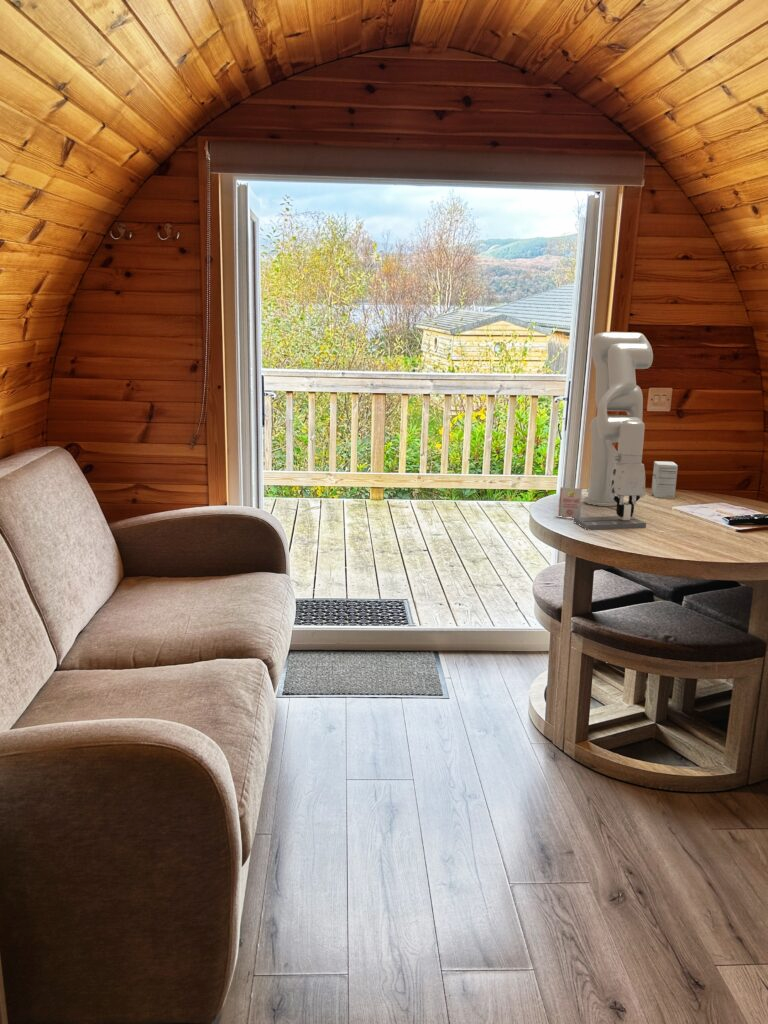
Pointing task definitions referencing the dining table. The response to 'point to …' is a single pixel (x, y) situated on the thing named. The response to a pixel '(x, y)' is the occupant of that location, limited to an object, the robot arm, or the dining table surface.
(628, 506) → the fader knob
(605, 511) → the dining table surface
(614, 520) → the fader board
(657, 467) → the supplement box
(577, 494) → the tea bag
